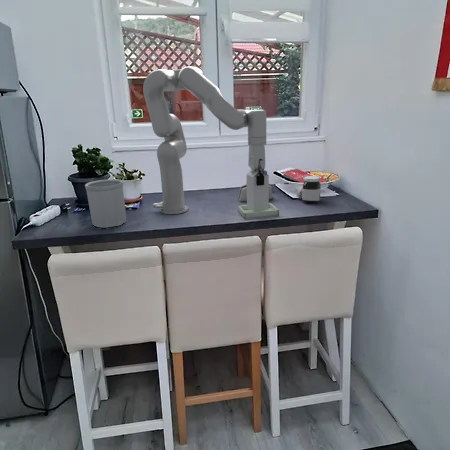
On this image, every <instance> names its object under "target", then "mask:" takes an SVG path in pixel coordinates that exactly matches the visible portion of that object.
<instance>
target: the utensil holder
mask: <svg viewBox="0 0 450 450" xmlns="http://www.w3.org/2000/svg"><path fill="white" fill-rule="evenodd" d="M84 187H85V190H86V195H87V201H88V206H89V212H90V217H91V218H90V219H91V223H92V226H93V225H94V226H97V227H110V226H117V225H121V224H123V223H125V222H126V223H127V212H126V204H125V196H124V195H125V194H124V181H123V180H121V179H118V178H117V179H115V178H111V179H110V178H109V179H100V180H99V179H98V180H93V181H89V182H87V183H85V184H84ZM126 223H125V224H126ZM123 225H124V224H123ZM94 226H93V227H94ZM121 226H122V225H121Z"/></svg>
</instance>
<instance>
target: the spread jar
mask: <svg viewBox="0 0 450 450" xmlns="http://www.w3.org/2000/svg"><path fill="white" fill-rule="evenodd" d="M321 186H322V185H321V181H320V176H318V175H307V176H304V181H303V184H302V185H301V186H300V187H299V188H298V189H297V191H296V197H297V199H300V200H302V202H303V203H304V204H311V205H313V204H318V203H319V202H320V200H321V188H322V187H321ZM301 198H302V199H301Z"/></svg>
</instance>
